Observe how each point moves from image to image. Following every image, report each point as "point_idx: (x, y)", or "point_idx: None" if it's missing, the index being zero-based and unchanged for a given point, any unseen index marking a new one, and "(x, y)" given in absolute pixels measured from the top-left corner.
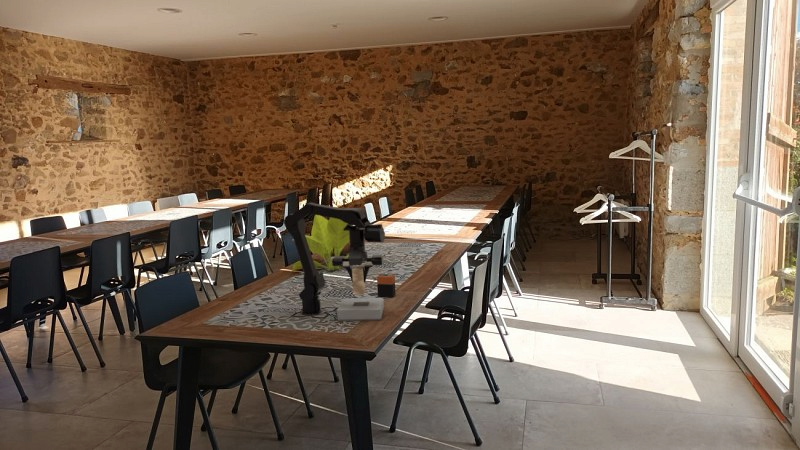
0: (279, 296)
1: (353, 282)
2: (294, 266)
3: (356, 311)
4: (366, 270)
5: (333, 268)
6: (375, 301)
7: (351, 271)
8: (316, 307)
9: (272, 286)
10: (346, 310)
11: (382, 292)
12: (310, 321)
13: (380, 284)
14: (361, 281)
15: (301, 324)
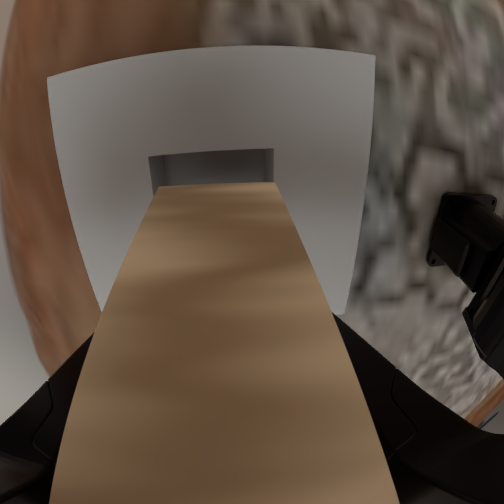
0: (484, 370)
1: (296, 256)
2: None
3: (225, 47)
4: (14, 449)
5: None
6: None
7: (384, 439)
8: (463, 223)
9: (467, 415)
10: (306, 47)
11: None
12: (469, 87)
13: None
14: (151, 269)
15: (493, 54)
